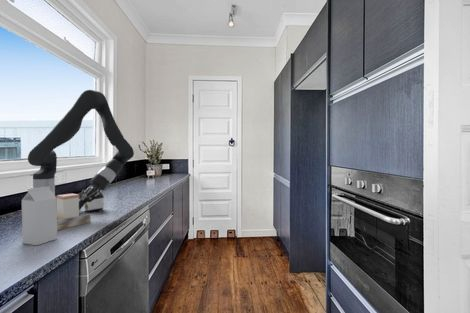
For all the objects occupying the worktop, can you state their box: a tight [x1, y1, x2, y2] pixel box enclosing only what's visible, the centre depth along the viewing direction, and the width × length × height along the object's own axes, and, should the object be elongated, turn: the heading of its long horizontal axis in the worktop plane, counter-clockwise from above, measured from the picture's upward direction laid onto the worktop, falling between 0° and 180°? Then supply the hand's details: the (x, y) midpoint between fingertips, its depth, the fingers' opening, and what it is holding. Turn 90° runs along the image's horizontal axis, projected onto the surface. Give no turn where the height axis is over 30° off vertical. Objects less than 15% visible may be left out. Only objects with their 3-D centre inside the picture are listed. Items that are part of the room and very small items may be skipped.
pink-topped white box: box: [56, 192, 80, 220], centre depth 109 cm, size 6×6×11 cm
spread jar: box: [79, 190, 105, 213], centre depth 133 cm, size 12×11×12 cm
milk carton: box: [21, 186, 58, 246], centre depth 88 cm, size 7×7×19 cm
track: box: [57, 211, 92, 231], centre depth 107 cm, size 18×9×6 cm, turn 147°
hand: (76, 208), depth 112 cm, fingers closed
